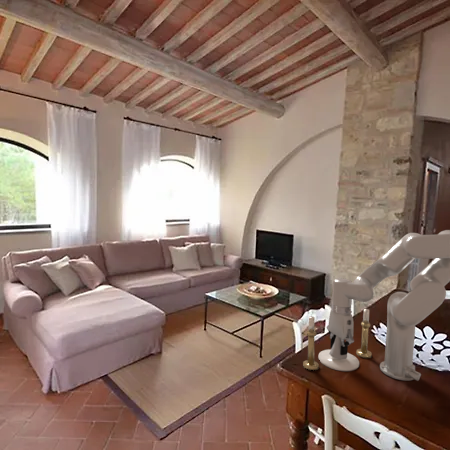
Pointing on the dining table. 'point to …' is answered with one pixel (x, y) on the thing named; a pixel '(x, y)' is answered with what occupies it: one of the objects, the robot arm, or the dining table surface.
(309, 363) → the near candlestick
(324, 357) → the cream plate
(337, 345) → the flask
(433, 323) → the dining table surface
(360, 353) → the far candlestick
